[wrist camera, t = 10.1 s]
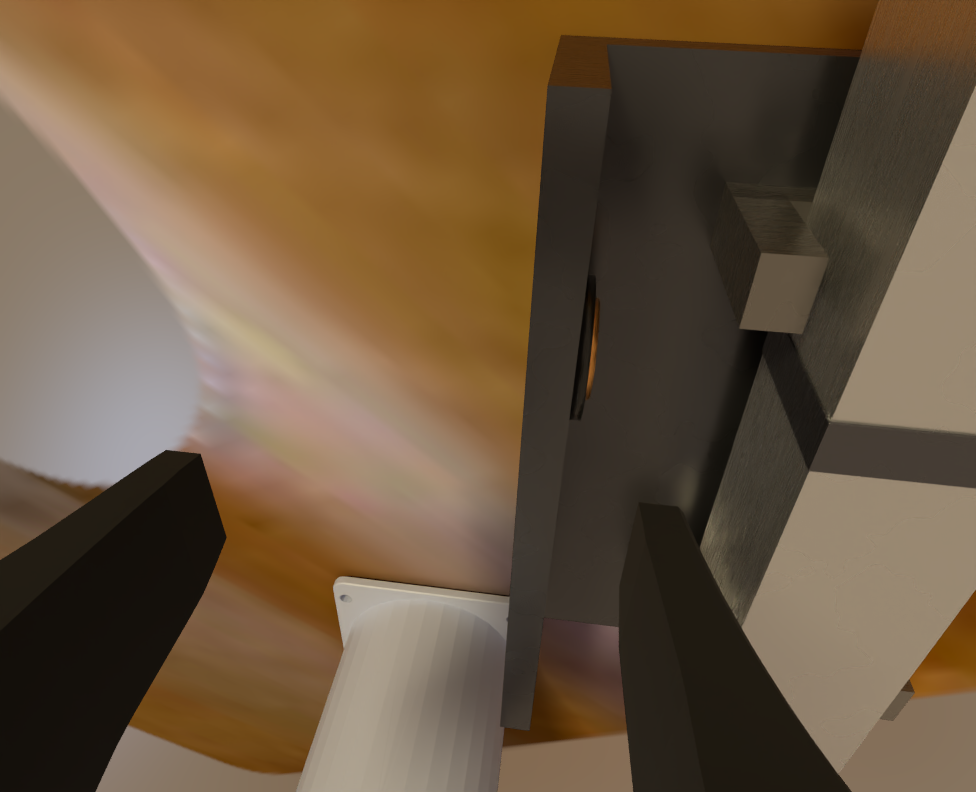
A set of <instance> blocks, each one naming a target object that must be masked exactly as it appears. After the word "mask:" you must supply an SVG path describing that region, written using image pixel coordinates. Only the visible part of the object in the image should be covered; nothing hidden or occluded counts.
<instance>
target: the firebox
mask: <svg viewBox="0 0 976 792" xmlns="http://www.w3.org/2000/svg"><path fill="white" fill-rule="evenodd" d="M861 53H862V50H851V49H831V48H810V47H790V46H770V45H749V44H729V43H709V42H688V41H668V40H648V39H627V38H607V37H587V36H566V35H561V38H560V41H559V45H558V49H557V53H556V56H555V60H554V64H553V68H552V71H551V75H550V79H549V83H548V89H547V102H546V115H545V129H544V142H543V156H542V169H541V183H540V196H539V209H538V223H537V236H536V250H535V263H534V276H533V290H532V303H531V317H530V330H529V344H528V357H527V370H526V384H525V397H524V411H523V424H522V437H521V451H520V464H519V478H518V491H517V505H516V518H515V531H514V545H513V558H512V572H511V585H510V598H509V612H508V625H507V639H506V652H505V666H504V679H503V692H502V706H501V719H500V727H506V728H513V729H520V730H527V731H529V730H530V722H531V714H532V706H533V699H534V691H535V683H536V675H537V667H538V660H539V652H540V644H541V636H542V628H543V621H544V618H552V619H560V620H568V621H575V622H583V623H591V624H599V625H607V626H615V627H619V585H620V580H621V576H622V572H623V567H624V563H625V559H626V554H627V550H628V545H629V541H630V537H631V532H632V528H633V524H634V519H635V515H636V511H637V506H638V502H642V503H651V504H660V505H669V506H678V507H679V508H680V509H681V510H682V512H683V513H684V515H685V517H686V520H687V522H688V524H689V527H690V529H691V531H692V533H693V536H694V538H695V540H696V542H697V544H698V546H699V548H700V544H701V541H702V538H703V535H704V532H705V529H706V526H707V523H708V520H709V517H710V514H711V511H712V508H713V505H714V502H715V499H716V496H717V493H718V489H719V486H720V483H721V480H722V477H723V474H724V471H725V468H726V465H727V462H728V459H729V456H730V453H731V450H732V447H733V444H734V441H735V438H736V434H737V431H738V428H739V425H740V422H741V419H742V416H743V413H744V410H745V407H746V404H747V401H748V398H749V395H750V392H751V389H752V386H753V383H754V379H755V376H756V373H757V370H758V367H759V364H760V361H761V358H762V355H763V353H762V349H763V346H764V342H765V339H766V336H767V333H768V331H773V332H784V333H796V334H802V333H803V330H804V327H805V324H806V322H807V319H808V316H809V313H810V311H811V308H812V305H813V302H814V300H815V297H816V294H817V291H818V288H819V286H820V283H821V280H822V277H823V275H824V272H825V269H826V266H827V264H828V261H829V257H828V255H827V254H826V252H825V251H824V249H823V248H822V246H821V245H820V244H819V242H818V241H817V239H816V238H815V236H814V235H813V234H812V232H811V231H810V229H809V228H808V226H807V225H806V221H807V218H808V215H809V211H810V208H811V205H812V202H813V199H814V196H815V193H816V190H817V187H818V184H819V181H820V178H821V175H822V172H823V169H824V166H825V163H826V160H827V156H828V153H829V150H830V147H831V144H832V141H833V138H834V135H835V132H836V129H837V126H838V123H839V120H840V117H841V114H842V111H843V108H844V105H845V101H846V98H847V95H848V92H849V89H850V86H851V83H852V80H853V77H854V74H855V71H856V68H857V65H858V62H859V59H860V56H861ZM914 693H915V692H914V690H913V687H912V685H911V682H910V680H908V681H907V682H906V684H905V685H904V686H903V688H902V689H901V690H900V692H899V693H898V695H897V696H896V697H895V699H894V700H893V701H892V703H891V704H890V705H889V707H888V708H887V709H886V711H885V712H884V713H883V715H882V716H881V717H880V719H883V720H891V721H893V720H894V719H895V718H896V716H897V715H898V714H899V712H900V711H901V710H902V709H903V707H904V706H905V704H906V703H907V702H908V701H909V700H910V698H911V697H912V696H913V694H914Z"/></svg>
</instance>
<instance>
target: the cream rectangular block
mask: <svg viewBox="0 0 976 792" xmlns="http://www.w3.org/2000/svg"><path fill="white" fill-rule="evenodd" d="M806 225H807V226H808V228H809V229H810V231H811V232H812V234H813V235H814V236H815V238H816V239H817V241H818V242H819V244H820V245H821V246H822V248H823V249H824V251H825V252H826V254H827V255H828V257H829V261H828V264H827V266H826V269H825V272H824V275H823V277H822V280H821V283H820V286H819V288H818V291H817V294H816V297H815V300H814V302H813V305H812V308H811V311H810V313H809V316H808V319H807V322H806V324H805V327H804V330H803V333H802V334H796V333H784V332H773V331H768V333H767V336H766V339H765V342H764V346H763V349H762V353H763V355H762V358H761V361H760V364H759V367H758V370H757V373H756V376H755V379H754V383H753V386H752V389H751V392H750V395H749V398H748V401H747V404H746V407H745V410H744V413H743V416H742V419H741V422H740V425H739V428H738V431H737V434H736V438H735V441H734V444H733V447H732V450H731V453H730V456H729V459H728V462H727V465H726V468H725V471H724V474H723V477H722V480H721V483H720V486H719V489H718V493H717V496H716V499H715V502H714V505H713V508H712V511H711V514H710V517H709V520H708V523H707V526H706V529H705V532H704V535H703V538H702V541H701V544H700V550H701V553H702V555H703V557H704V559H705V561H706V563H707V565H708V567H709V569H710V571H711V573H712V575H713V577H714V578H715V580H716V582H717V584H718V586H719V588H720V590H721V592H722V594H723V596H724V597H725V599H726V601H727V603H728V605H729V606H730V608H731V610H732V612H733V614H734V615H735V617H736V619H737V621H738V622H739V624H740V626H741V628H742V629H743V631H744V633H745V635H746V636H747V638H748V640H749V642H750V643H751V645H752V647H753V648H754V650H755V652H756V653H757V655H758V657H759V658H760V660H761V662H762V663H763V665H764V666H765V668H766V670H767V671H768V673H769V674H770V676H771V677H772V679H773V681H774V682H775V684H776V685H777V687H778V688H779V690H780V691H781V693H782V695H783V696H784V698H785V699H786V701H787V702H788V704H789V705H790V707H791V708H792V710H793V711H794V713H795V714H796V716H797V717H798V719H799V720H800V722H801V723H802V724H803V726H804V727H805V729H806V730H807V732H808V733H809V735H810V736H811V737H812V739H813V740H814V742H815V743H816V744H817V746H818V747H819V748H820V750H821V751H822V753H823V754H824V755H825V757H826V758H827V759H828V761H829V762H830V764H831V765H832V766H833V768H834V769H835V771H836V772H837V773H838V774H839V772H840V771H841V769H842V768H843V767H844V766H845V764H846V763H847V762H848V760H849V759H850V758H851V756H852V755H853V754H854V752H855V751H856V750H857V748H858V747H859V746H860V744H861V743H862V741H863V740H864V739H865V738H866V736H867V735H868V733H869V732H870V731H871V729H872V728H873V727H874V725H875V724H876V722H877V721H878V720H879V719H880V717H881V716H882V715H883V713H884V712H885V711H886V709H887V708H888V707H889V705H890V704H891V703H892V701H893V700H894V699H895V697H896V696H897V695H898V693H899V692H900V690H901V689H902V688H903V686H904V685H905V684H906V682H907V681H908V680H909V678H910V677H911V676H912V674H913V673H914V672H915V670H916V669H917V668H918V666H919V665H920V664H921V662H922V661H923V660H924V658H925V657H926V656H927V654H928V653H929V652H930V650H931V649H932V647H933V646H934V645H935V643H936V642H937V641H938V639H939V638H940V637H941V635H942V634H943V633H944V631H945V630H946V629H947V627H948V626H949V625H950V623H951V622H952V621H953V619H954V618H955V617H956V615H957V614H958V613H959V611H960V610H961V609H962V607H963V606H964V604H965V603H966V602H967V600H968V599H969V598H970V596H971V595H972V594H973V592H974V591H975V590H976V0H879V1H878V4H877V7H876V10H875V13H874V16H873V19H872V22H871V25H870V28H869V31H868V34H867V37H866V40H865V43H864V46H863V50H862V53H861V56H860V59H859V62H858V65H857V68H856V71H855V74H854V77H853V80H852V83H851V86H850V89H849V92H848V95H847V98H846V101H845V105H844V108H843V111H842V114H841V117H840V120H839V123H838V126H837V129H836V132H835V135H834V138H833V141H832V144H831V147H830V150H829V153H828V156H827V160H826V163H825V166H824V169H823V172H822V175H821V178H820V181H819V184H818V187H817V190H816V193H815V196H814V199H813V202H812V205H811V208H810V211H809V215H808V218H807V221H806Z"/></svg>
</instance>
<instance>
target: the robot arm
mask: <svg viewBox="0 0 976 792" xmlns="http://www.w3.org/2000/svg"><path fill="white" fill-rule="evenodd" d="M225 540H226V534H225V531H224V528H223V525H222V521H221V518H220V515H219V512H218V509H217V505H216V502H215V499H214V496H213V492H212V489H211V486H210V483H209V480H208V476H207V473H206V470H205V467H204V463H203V460H202V457H201V454H197V453H188V452H179V451H170V450H165V451H164V452H162V453H161V454H159V455H157V456H156V457H154V458H153V459H151V460H150V461H148V462H147V463H145V464H144V465H142V466H141V467H139V468H138V469H136V470H135V471H133V472H132V473H130V474H129V475H127V476H126V477H124V478H123V479H121V480H120V481H119V482H117V483H116V484H114V485H113V486H111V487H110V488H108V489H107V490H106V491H104V492H103V493H101V494H100V495H98V496H97V497H95V498H94V499H92V500H91V501H90V502H88V503H87V504H85V505H84V506H82V507H81V508H79V509H78V510H76V511H75V512H73V513H72V514H70V515H69V516H67V517H66V518H64V519H63V520H61V521H60V522H59V523H57V524H56V525H54V526H53V527H51V528H50V529H48V530H47V531H45V532H44V533H42V534H41V535H39V536H38V537H36V538H35V539H33V540H32V541H30V542H28V543H27V544H25V545H24V546H22V547H20V548H19V549H17V550H16V551H14V552H12V553H11V554H9V555H8V556H6V557H5V558H3V559H1V560H0V792H95V791H96V789H97V787H98V785H99V783H100V781H101V778H102V776H103V774H104V772H105V769H106V768H107V765H108V763H109V761H110V759H111V757H112V755H113V752H114V750H115V748H116V746H117V744H118V742H119V740H120V739H121V737H122V735H123V733H124V731H125V729H126V727H127V726H128V724H129V722H130V720H131V718H132V716H133V715H134V713H135V711H136V709H137V708H138V706H139V704H140V703H141V701H142V699H143V697H144V696H145V694H146V692H147V691H148V689H149V687H150V685H151V684H152V682H153V680H154V679H155V677H156V675H157V673H158V672H159V670H160V668H161V666H162V665H163V663H164V661H165V660H166V658H167V656H168V654H169V653H170V651H171V649H172V648H173V646H174V644H175V642H176V641H177V639H178V637H179V636H180V634H181V632H182V630H183V629H184V627H185V625H186V623H187V622H188V620H189V618H190V616H191V615H192V613H193V611H194V609H195V608H196V606H197V604H198V602H199V600H200V599H201V597H202V595H203V593H204V591H205V589H206V586H207V584H208V582H209V579H210V577H211V575H212V572H213V570H214V568H215V565H216V563H217V560H218V558H219V555H220V553H221V550H222V548H223V545H224V543H225ZM333 591H334V596H335V602H336V608H337V613H338V619H339V624H340V630H341V635H342V641H343V646H344V651H343V654H342V657H341V660H340V663H339V666H338V669H337V672H336V675H335V678H334V681H333V684H332V686H331V689H330V692H329V695H328V698H327V701H326V704H325V707H324V710H323V713H322V716H321V719H320V722H319V725H318V728H317V731H316V734H315V737H314V739H313V742H312V745H311V748H310V751H309V754H308V757H307V760H306V763H305V766H304V769H303V772H302V775H301V778H300V781H299V784H298V787H297V790H296V792H497V790H498V781H499V772H500V763H501V753H502V744H503V735H504V727H500V719H501V706H502V692H503V679H504V666H505V652H506V639H507V625H508V612H509V598H510V597H507V596H499V595H491V594H483V593H475V592H467V591H459V590H451V589H443V588H435V587H427V586H419V585H411V584H403V583H395V582H387V581H379V580H371V579H363V578H355V577H347V576H342V577H339V578H337V579H336V581H335V583H334V586H333ZM619 653H620V664H621V674H622V684H623V694H624V704H625V714H626V724H627V734H628V743H629V753H630V763H631V773H632V782H633V792H851V790H850V789H849V788H848V786H847V785H846V784H845V782H844V781H843V780H842V778H841V777H840V776H839V775H838V773H837V772H836V771H835V769H834V768H833V766H832V765H831V764H830V762H829V761H828V759H827V758H826V757H825V755H824V754H823V753H822V751H821V750H820V748H819V747H818V746H817V744H816V743H815V742H814V740H813V739H812V737H811V736H810V735H809V733H808V732H807V730H806V729H805V727H804V726H803V724H802V723H801V722H800V720H799V719H798V717H797V716H796V714H795V713H794V711H793V710H792V708H791V707H790V705H789V704H788V702H787V701H786V699H785V698H784V696H783V695H782V693H781V691H780V690H779V688H778V687H777V685H776V684H775V682H774V681H773V679H772V677H771V676H770V674H769V673H768V671H767V670H766V668H765V666H764V665H763V663H762V662H761V660H760V658H759V657H758V655H757V653H756V652H755V650H754V648H753V647H752V645H751V643H750V642H749V640H748V638H747V636H746V635H745V633H744V631H743V629H742V628H741V626H740V624H739V622H738V621H737V619H736V617H735V615H734V614H733V612H732V610H731V608H730V606H729V605H728V603H727V601H726V599H725V597H724V596H723V594H722V592H721V590H720V588H719V586H718V584H717V582H716V580H715V578H714V577H713V575H712V573H711V571H710V569H709V567H708V565H707V563H706V561H705V559H704V557H703V555H702V553H701V550H700V548H699V546H698V544H697V542H696V540H695V538H694V536H693V533H692V531H691V529H690V527H689V524H688V522H687V520H686V517H685V515H684V513H683V512H682V510H681V509H680V508H679V507H678V506H669V505H660V504H651V503H642V502H638V506H637V511H636V515H635V519H634V524H633V528H632V532H631V537H630V541H629V545H628V550H627V554H626V559H625V563H624V567H623V572H622V576H621V580H620V585H619Z"/></svg>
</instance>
